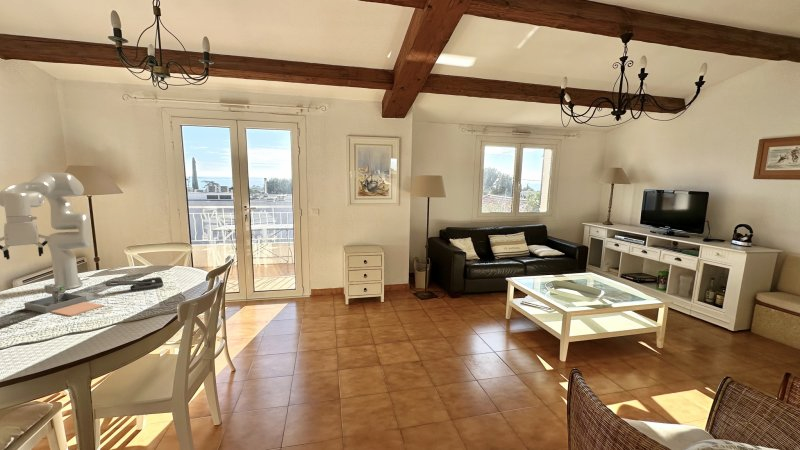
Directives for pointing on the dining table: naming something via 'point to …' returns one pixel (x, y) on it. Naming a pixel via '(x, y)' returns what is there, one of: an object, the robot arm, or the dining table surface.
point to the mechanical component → (54, 291)
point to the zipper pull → (139, 284)
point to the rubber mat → (77, 309)
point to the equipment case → (74, 299)
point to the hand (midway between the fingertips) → (24, 257)
